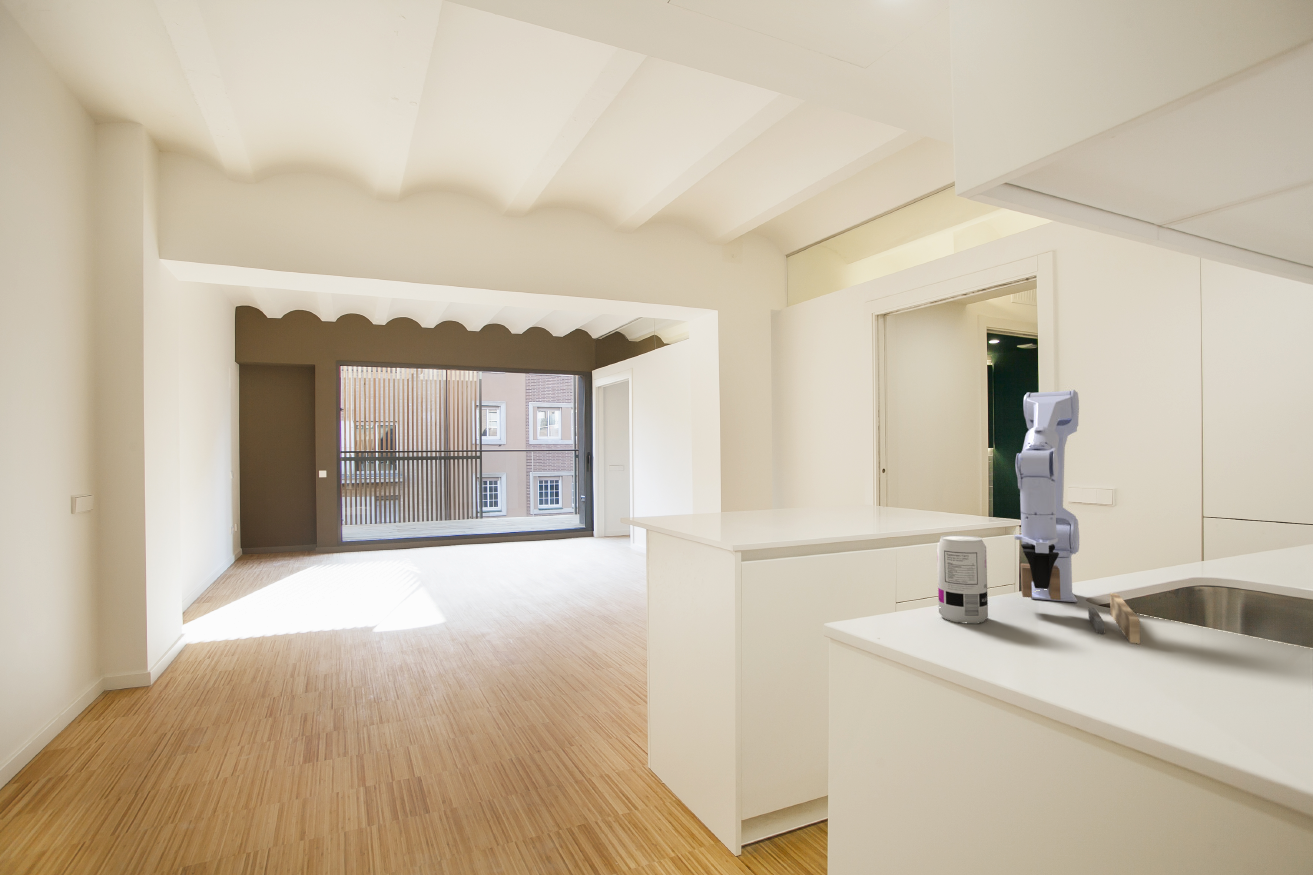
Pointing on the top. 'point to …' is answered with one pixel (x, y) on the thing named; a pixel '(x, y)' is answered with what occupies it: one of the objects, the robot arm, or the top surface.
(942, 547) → the supplement can
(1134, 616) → the cleat board
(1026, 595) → the cabinet block
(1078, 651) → the top surface
